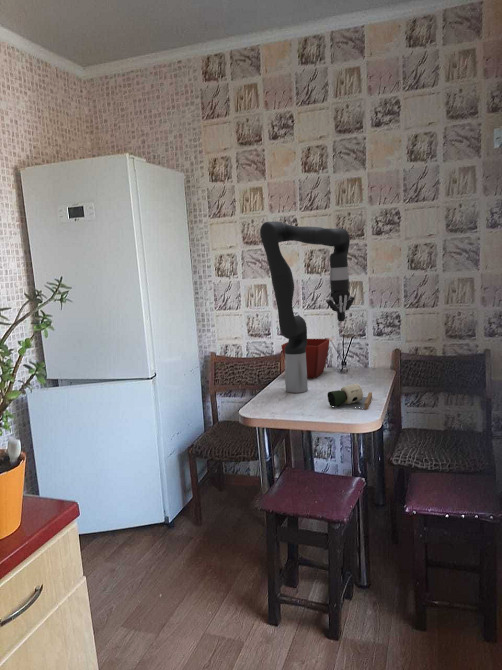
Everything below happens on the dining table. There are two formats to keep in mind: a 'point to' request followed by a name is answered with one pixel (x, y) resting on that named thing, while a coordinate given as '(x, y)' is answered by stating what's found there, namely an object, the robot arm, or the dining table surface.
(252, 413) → the dining table surface
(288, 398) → the dining table surface
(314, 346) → the plant pot
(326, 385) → the dining table surface
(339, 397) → the character mug
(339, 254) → the robot arm
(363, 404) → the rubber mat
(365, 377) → the dining table surface
